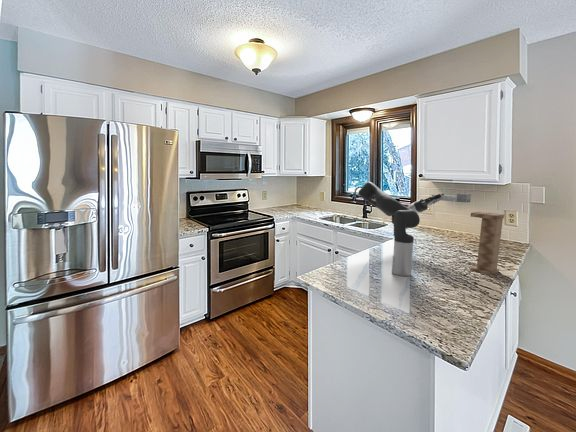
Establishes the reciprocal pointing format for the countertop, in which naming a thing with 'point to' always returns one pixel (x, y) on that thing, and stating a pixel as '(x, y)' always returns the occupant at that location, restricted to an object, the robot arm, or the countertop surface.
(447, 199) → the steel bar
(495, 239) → the wooden pedestal
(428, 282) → the countertop surface
